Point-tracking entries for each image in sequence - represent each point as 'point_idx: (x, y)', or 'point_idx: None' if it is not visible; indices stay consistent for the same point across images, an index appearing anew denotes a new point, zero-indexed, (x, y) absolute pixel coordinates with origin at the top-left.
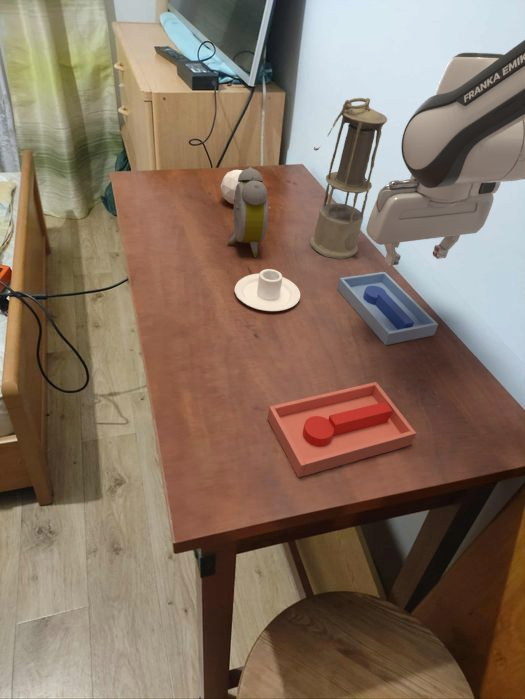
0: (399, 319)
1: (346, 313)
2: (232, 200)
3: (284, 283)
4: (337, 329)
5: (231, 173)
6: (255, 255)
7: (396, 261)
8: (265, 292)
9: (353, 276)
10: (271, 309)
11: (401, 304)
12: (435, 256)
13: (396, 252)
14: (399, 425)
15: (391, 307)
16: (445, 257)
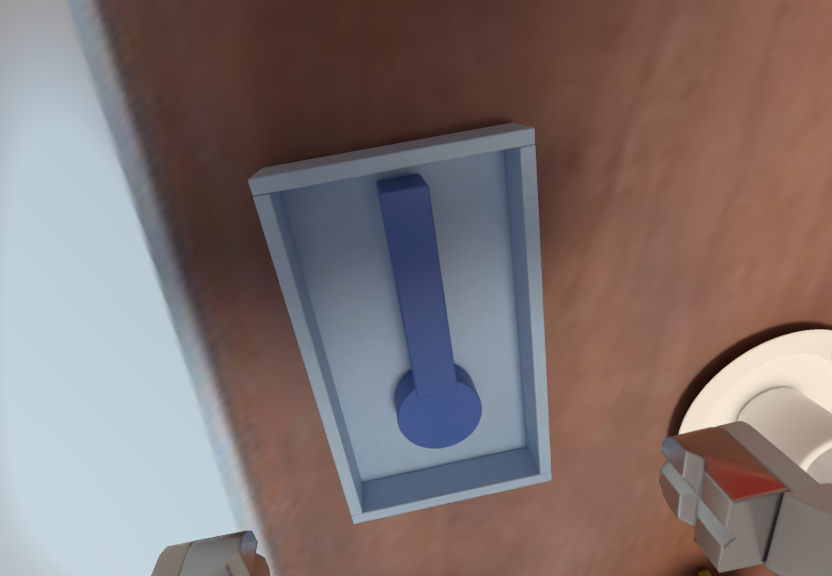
0: (434, 228)
1: (566, 322)
2: None
3: None
4: (645, 235)
5: None
6: (708, 573)
7: (721, 453)
8: (821, 406)
9: (494, 491)
10: (823, 336)
11: (336, 361)
12: (257, 558)
13: (729, 549)
14: None
15: (442, 303)
16: (166, 550)
